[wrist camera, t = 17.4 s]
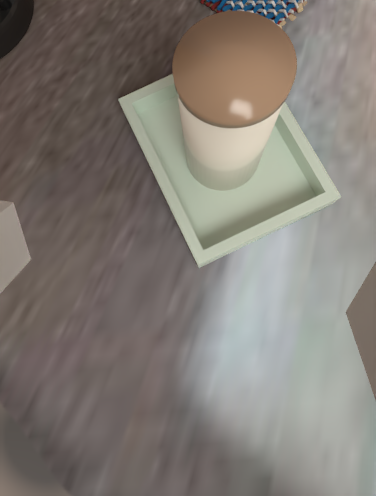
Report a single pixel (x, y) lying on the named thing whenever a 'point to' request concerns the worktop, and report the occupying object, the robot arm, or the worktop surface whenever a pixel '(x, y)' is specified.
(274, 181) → the tray
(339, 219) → the worktop surface
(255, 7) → the woven mat
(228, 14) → the canister
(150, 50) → the worktop surface
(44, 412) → the worktop surface
